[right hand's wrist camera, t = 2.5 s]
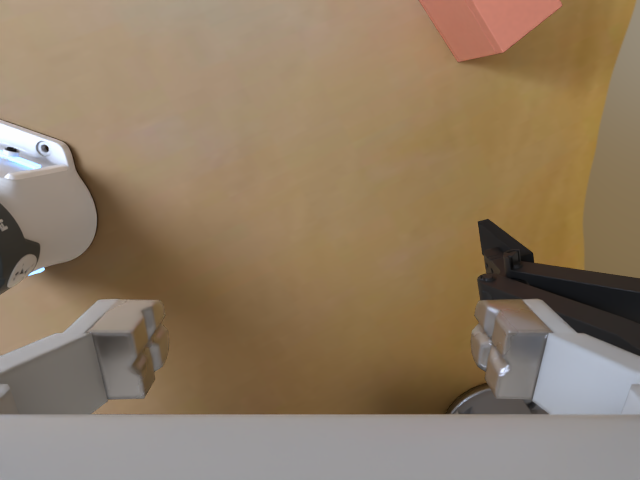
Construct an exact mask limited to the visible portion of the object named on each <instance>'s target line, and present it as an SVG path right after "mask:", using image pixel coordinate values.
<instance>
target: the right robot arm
mask: <svg viewBox="0 0 640 480" xmlns="http://www.w3.org/2000/svg"><path fill="white" fill-rule="evenodd" d="M45 145H47V146H48V148H49V151H47V150H46V148H45ZM96 228H97V213H96V208H95V204H94V201H93V199H92V196H91V194H90V192H89V190H88V188H87V187H86V185H85V184H84V182H83V181H82V179H81V178H80V177H79V175H78V173H77V171H76V169H75V165H74V161H73V157H72V154H71V151H70V149H69V147H68V146H67V145H66V144H65V143H64V142H62V141H60V140H57V139H54V138H52V137H49V136H46V135H43V134H40V133H37V132H34V131H31V130H29V129H26V128H23V127H20V126H17V125H14V124H11V123H9V122H6V121H3V120H0V294H2V293H3V292H5V291H7V290H8V289H10V288H11V287H13V286H15V285H16V284H18V283H19V282H21V281H22V280H23V279H24V278H25V277H27V276H29V275H32V274H36V273H40V272H42V271H43V270H45V269H44V267H47V266H51V265H54V264H59V263H63V262H67V261H70V260H73V259H75V258H76V257H78V256H80V255H81V254H82V253H83V252H84V251H86V249H87V248H88V247H89V246H90V244H91V242H92V241H93V238H94V236H95V233H96ZM165 316H166V315H165V310H164V305H163V303H162V302H161V301H160V300H134V299H122V300H121V299H102V300H97V301H96V302H95V303H94V304H93V305H92V306H91V307H90V308H89V309H88V310H87V311H86V312H85V313H84V314H82V315H81V316H80V317H79V318H78V319H77V320H76V321H75V322H74V323H73V324H72V325H71V326H70V327H69V328H67V329H66V330H65V331H64V332H63V333H55V334H53V335H50V336H48V337H46V338H43V339H41V340H38V341H36V342H33V343H31V344H29V345H26V346H24V347H21V348H19V349H16V350H14V351H12V352H9V353H7V354H4V355H2V356H0V480H640V356H638V355H636V354H633V353H631V352H628V351H626V350H624V349H621V348H619V347H616V346H614V345H611V344H609V343H607V342H604V341H602V340H599V339H597V338H594V337H592V336H590V335H587V334H585V333H577V332H576V331H575V330H574V329H573V328H571V327H570V326H569V325H568V324H567V323H566V322H565V321H564V320H563V319H562V318H561V317H560V316H559V315H558V314H557V313H555V312H554V311H553V310H552V309H551V308H550V307H549V306H548V305H547V304H546V303H545V302H544V301H543V300H540V299H511V300H481V301H478V303H477V305H476V309H475V315H474V316H475V317H476V319H477V320H478V322H479V324H478V325H477V326H476V327H475V328H474V329H473V330H472V334H471V351H472V355H473V358H474V361H475V363H476V364H477V366H478V367H479V368H481V369H482V370H484V371H485V372H486V374H485V380H486V382H487V384H488V386H489V387H490V389H491V391H492V392H493V394H494V396H495V398H497V399H533V400H532V401H533V402H534V403H535V404H537V405H538V406H539V407H541V408H542V409H543V410H545V411H546V412H547V413H549V414H91V413H93V412H94V411H95V410H97V409H98V408H99V407H101V406H102V405H103V404H105V403H106V402H107V401H108V400H107V399H142V398H145V396H146V394H147V393H148V391H149V389H150V387H151V386H152V384H153V382H154V380H155V374H154V372H155V371H156V370H158V369H159V368H161V367H162V366H163V364H164V363H165V361H166V359H167V355H168V350H169V334H168V330H167V329H166V328H165V327H164V326H163V325H162V324H161V322H162V320H163V319H164V317H165Z"/></svg>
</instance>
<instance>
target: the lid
mask: <svg viewBox="0 0 640 480" xmlns="http://www.w3.org/2000/svg"><path fill="white" fill-rule="evenodd" d="M466 2H467V4H468V5H469V7H470V9H471V10H472V12H473V14H474V15H475V17H476V19H477V20H478V22H479V24H480V25H481V27H482V29H483V30H484V32H485V34H486V35H487V37H488V39H489V40H490V42H491V44H492V45H493V47H494V49H495V51H496V52H497V54H499V53H504V52H505V51H506V50H507V49H509V48H510V47H511V46H513V45H514V44H515V43H516V42H518V41H519V40H520V39H521V38H523V37H524V36H525V35H526V34H528V33H529V32H530V31H531V30H533V29H534V28H535V27H536V26H538V25H539V24H540V23H541V22H543V21H544V20H545V19H547V18H548V17H549V16H550V15H552V14H553V13H554V12H555V11H557V10H558V9H559V8H560V7H562V3H561V1H560V0H466Z"/></svg>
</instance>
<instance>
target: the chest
mask: <svg viewBox="0 0 640 480" xmlns="http://www.w3.org/2000/svg"><path fill="white" fill-rule="evenodd" d="M419 1H420V3H421V5H422V6H423V8H424V9H425V11H426V12H427V14H428V16H429V17H430V19H431V20H432V22H433V23H434V25H435V27H436V28H437V30H438V31H439V33H440V35H441V36H442V38H443V39H444V41H445V42H446V44H447V46H448V47H449V49H450V50H451V52H452V54H453V55H454V57H455V58H456V60H457V61H458V62H461V61H466V60H470V59H475V58H480V57H485V56H490V55H494V54H497V52H496V51H495V49H494V47H493V45H492V44H491V42H490V40H489V39H488V37H487V35H486V34H485V32H484V30H483V29H482V27H481V25H480V24H479V22H478V20H477V19H476V17H475V15H474V14H473V12H472V10H471V9H470V7H469V5H468V4H467V2H466V0H419Z"/></svg>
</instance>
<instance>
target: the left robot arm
mask: <svg viewBox="0 0 640 480" xmlns="http://www.w3.org/2000/svg"><path fill="white" fill-rule="evenodd" d="M478 227H479V234H480V241H481V248H482V254H483V255H484V260H485V267H486V273H487V274H483V275H480V276H479V277H478V279H477V281H478V288H479V295H480V301H481V300H511V299H540V300H543V301H544V302H545V303H546V304H547V305H548V306H549V307H550V308H551V309H552V310H553V311H554V312H555V313H557V314H558V315H559V316H560V317H561V318H562V319H563V320H564V321H565V322H566V323H567V324H568V325H569V326H570V327H571V328H573V329H574V330H575V331H576V332H577V333H585V334H587V335H590V336H592V337H594V338H597V339H599V340H602V341H604V342H607V343H609V344H611V345H614V346H616V347H619V348H621V349H624V350H626V351H628V352H631V353H633V354H636V355H638V356H640V278H633V277H626V276H619V275H613V274H606V273H599V272H592V271H585V270H579V269H572V268H565V267H558V266H551V265H545V264H538V263H534V258H533V253H532V252H531V251H530V250H528V249H527V248H526V247H524V246H523V245H522V244H520V243H519V242H518V241H517V240H515V239H514V238H513V237H511V236H510V235H509V234H507V233H506V232H505V231H503V230H502V229H501V228H499V227H498V226H497V225H495V224H494V223H493V222H491V221H490V220H489V219H486V220H482V221H478ZM532 400H533V399H497V398H495V396H494V394H493V392H492V391H491V389H490V387H489V386H488V384H484V385H481V386H478V387H475V388H473V389H471V390H469V391H467V392H466V393H464V394H463V395H461V396H460V397H459V398H457V399H456V400H455V401H454V402H453V404H452V405H451V406H450V407H449V409H448V411H447V413H446V414H548V413H547V412H546V411H545V410H543V409H542V408H541V407H539V406H538V405H537V404H535V403H534V402H533V401H532Z"/></svg>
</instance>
